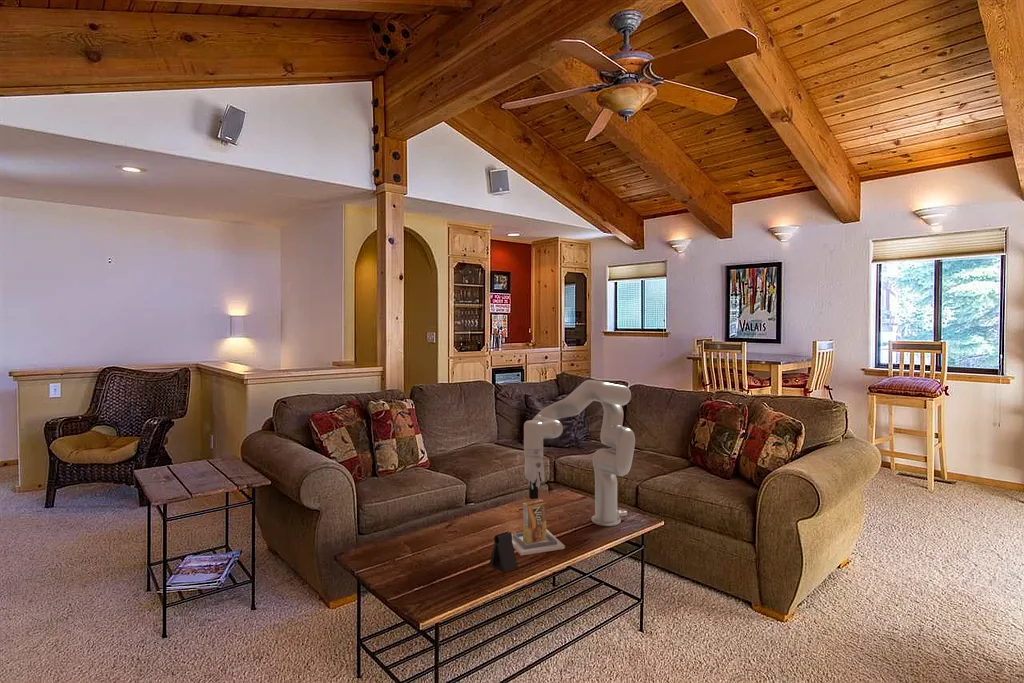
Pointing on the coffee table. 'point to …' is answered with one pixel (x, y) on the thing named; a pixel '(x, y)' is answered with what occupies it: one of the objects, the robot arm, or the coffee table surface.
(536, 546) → the tile
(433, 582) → the coffee table surface
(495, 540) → the phone stand
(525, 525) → the candy box
